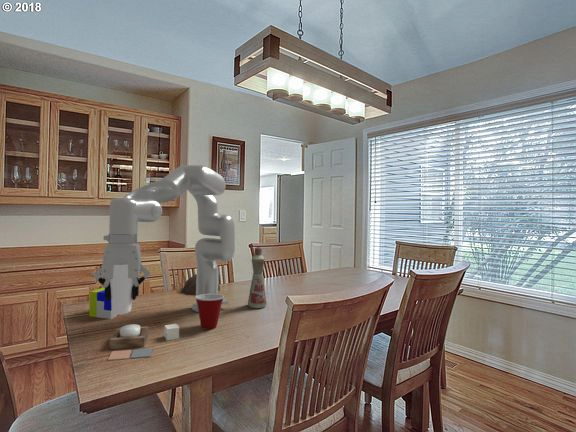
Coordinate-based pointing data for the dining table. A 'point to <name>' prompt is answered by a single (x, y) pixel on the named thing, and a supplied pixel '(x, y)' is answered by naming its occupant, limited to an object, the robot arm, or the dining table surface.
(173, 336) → the white cube
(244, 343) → the dining table surface
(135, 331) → the dome button
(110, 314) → the puzzle toy
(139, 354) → the pad mid
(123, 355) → the pad
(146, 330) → the button frame
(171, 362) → the dining table surface
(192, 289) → the decorative dome
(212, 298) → the plastic cup
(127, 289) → the drinking glass
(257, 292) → the bottle
